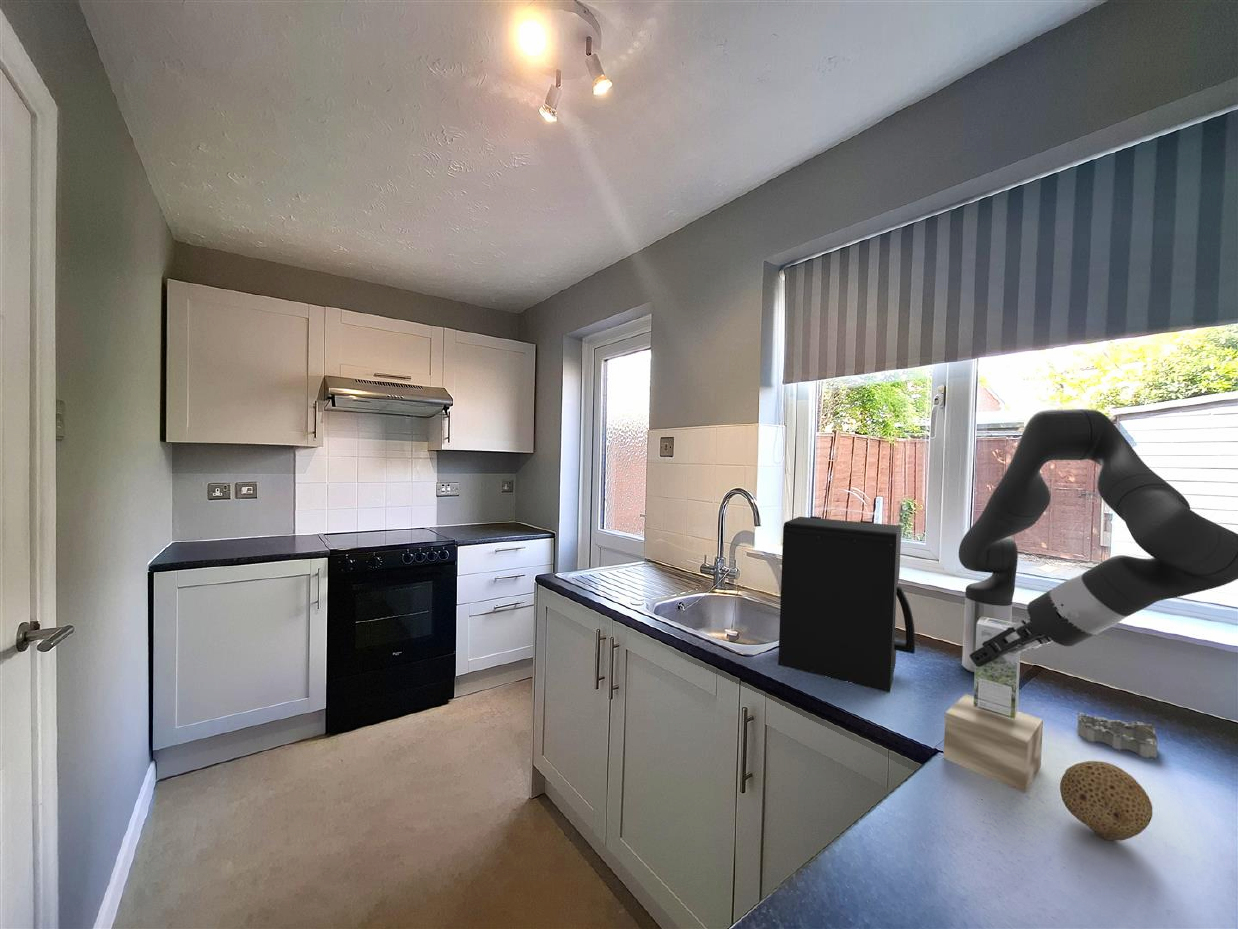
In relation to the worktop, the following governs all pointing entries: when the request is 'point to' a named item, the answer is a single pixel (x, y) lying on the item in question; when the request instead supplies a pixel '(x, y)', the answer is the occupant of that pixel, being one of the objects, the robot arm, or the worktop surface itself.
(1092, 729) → the egg carton
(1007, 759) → the wooden block
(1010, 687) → the syrup box
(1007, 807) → the worktop surface
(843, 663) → the coffee maker
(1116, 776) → the natural sponge
